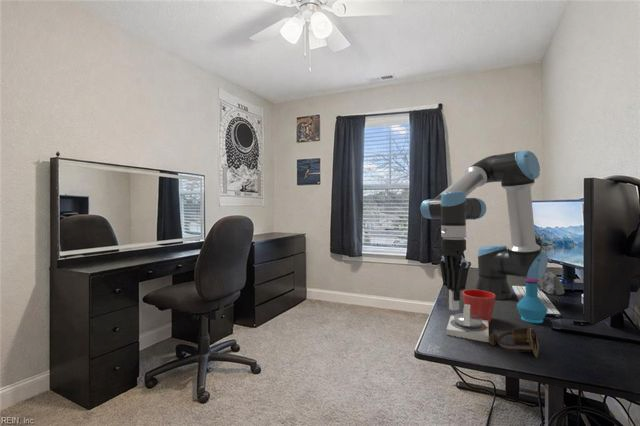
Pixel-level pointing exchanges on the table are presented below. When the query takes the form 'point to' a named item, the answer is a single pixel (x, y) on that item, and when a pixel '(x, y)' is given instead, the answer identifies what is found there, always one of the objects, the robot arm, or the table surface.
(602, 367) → the table surface
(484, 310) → the flower pot
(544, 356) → the table surface
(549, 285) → the mineral rock
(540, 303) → the perfume bottle
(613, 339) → the table surface
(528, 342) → the brown piece
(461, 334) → the dial housing
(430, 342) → the table surface
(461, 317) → the dial
